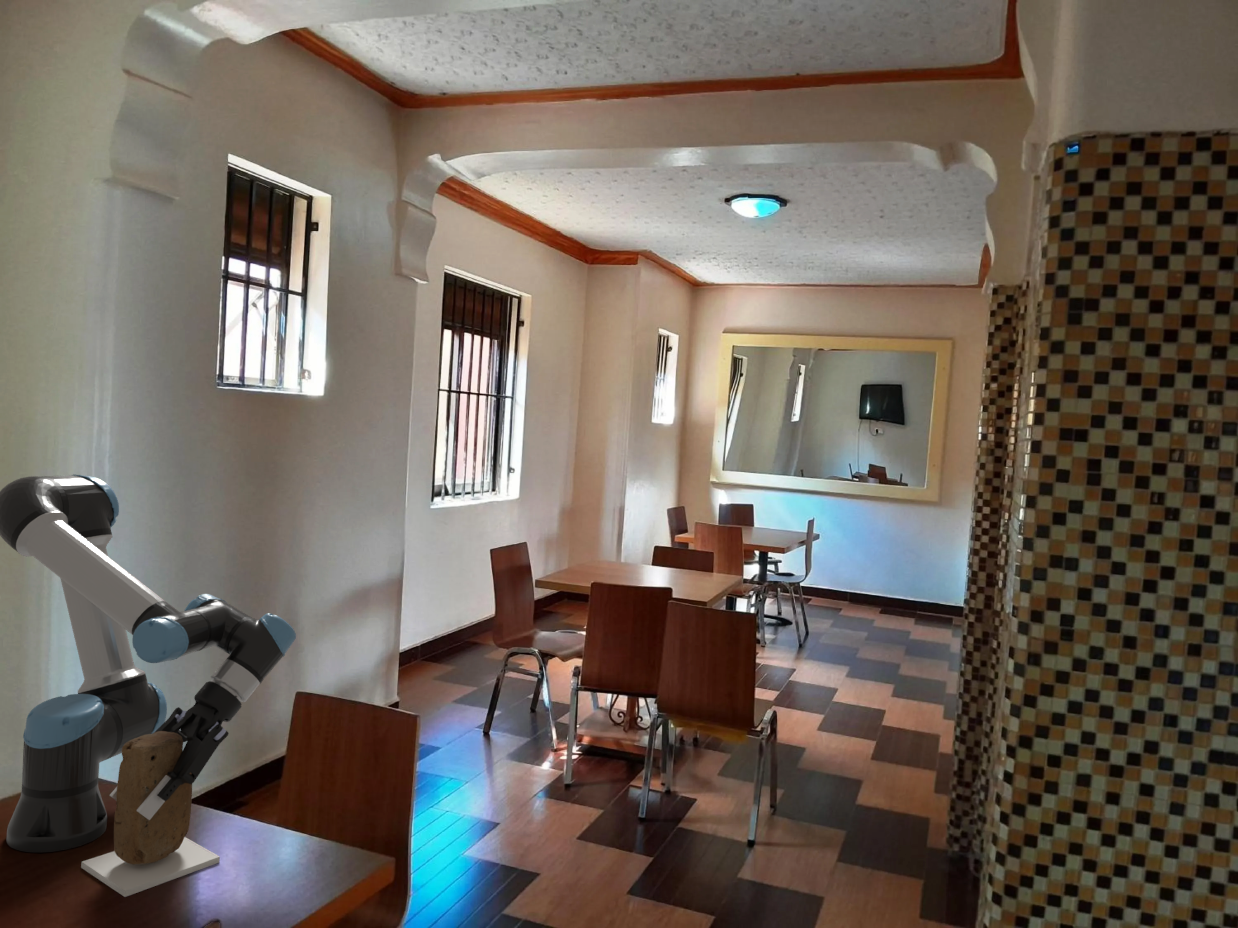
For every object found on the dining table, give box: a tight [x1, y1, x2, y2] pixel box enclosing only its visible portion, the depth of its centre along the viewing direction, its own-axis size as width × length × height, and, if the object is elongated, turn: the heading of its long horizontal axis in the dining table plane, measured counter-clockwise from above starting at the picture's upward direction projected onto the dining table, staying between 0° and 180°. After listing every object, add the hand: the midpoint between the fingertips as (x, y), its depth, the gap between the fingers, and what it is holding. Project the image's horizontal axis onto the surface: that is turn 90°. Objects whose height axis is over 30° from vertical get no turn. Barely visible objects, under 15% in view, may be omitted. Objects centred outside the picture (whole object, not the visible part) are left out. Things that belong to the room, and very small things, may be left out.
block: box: [113, 731, 193, 864], centre depth 153 cm, size 11×8×20 cm
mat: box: [80, 836, 221, 898], centre depth 153 cm, size 14×16×1 cm
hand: (129, 807), depth 149 cm, fingers closed on block, 8 cm apart
